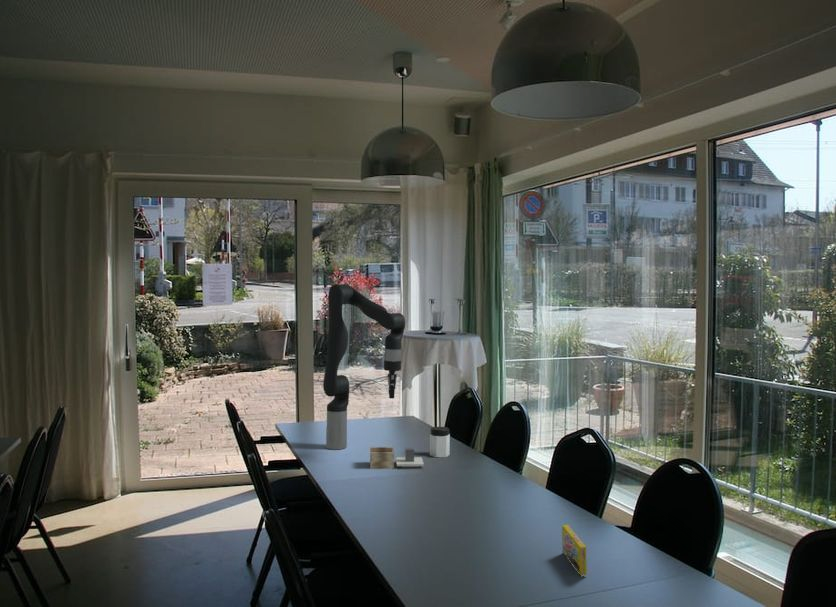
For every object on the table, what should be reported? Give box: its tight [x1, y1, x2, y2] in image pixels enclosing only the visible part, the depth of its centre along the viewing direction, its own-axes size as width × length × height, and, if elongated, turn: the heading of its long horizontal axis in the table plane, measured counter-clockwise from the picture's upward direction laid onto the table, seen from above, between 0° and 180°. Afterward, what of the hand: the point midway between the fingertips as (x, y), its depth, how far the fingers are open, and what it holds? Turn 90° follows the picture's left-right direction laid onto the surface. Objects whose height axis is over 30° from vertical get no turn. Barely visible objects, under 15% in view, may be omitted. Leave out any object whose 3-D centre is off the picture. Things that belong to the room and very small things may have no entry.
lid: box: [395, 447, 425, 467], centre depth 288 cm, size 11×11×7 cm
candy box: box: [561, 524, 587, 575], centre depth 190 cm, size 16×2×8 cm, turn 5°
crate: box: [369, 446, 395, 470], centre depth 288 cm, size 10×10×7 cm
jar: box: [429, 426, 451, 458], centre depth 307 cm, size 9×8×12 cm
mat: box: [396, 465, 424, 470], centre depth 289 cm, size 10×13×1 cm
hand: (391, 396), depth 301 cm, fingers open, 8 cm apart
